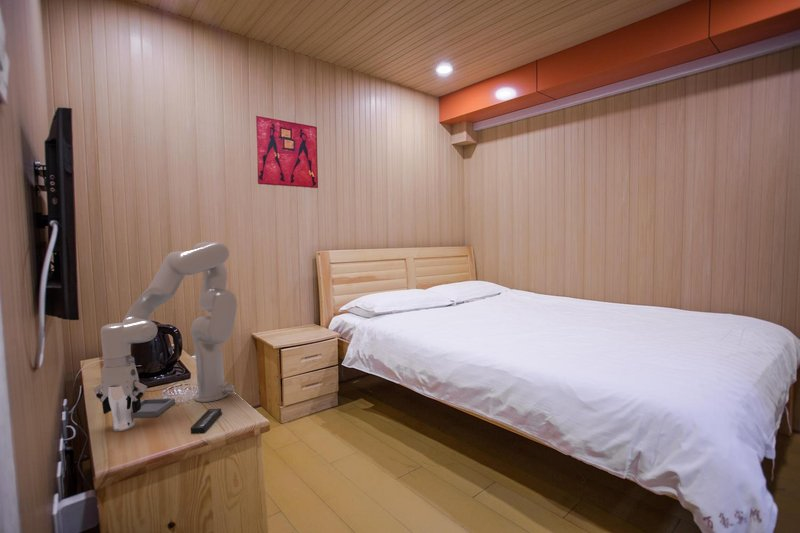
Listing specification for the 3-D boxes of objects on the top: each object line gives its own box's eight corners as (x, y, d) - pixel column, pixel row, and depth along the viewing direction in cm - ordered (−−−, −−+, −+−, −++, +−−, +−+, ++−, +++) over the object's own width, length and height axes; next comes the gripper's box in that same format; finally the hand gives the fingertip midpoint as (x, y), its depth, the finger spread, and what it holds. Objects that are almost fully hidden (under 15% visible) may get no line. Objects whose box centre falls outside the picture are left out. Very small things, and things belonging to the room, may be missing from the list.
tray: (175, 403, 158) (174, 398, 158) (156, 416, 147) (156, 411, 147) (144, 404, 158) (144, 398, 158) (124, 417, 147) (123, 412, 147)
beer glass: (118, 423, 143) (114, 380, 142) (140, 421, 143) (136, 379, 142) (106, 432, 136) (102, 387, 135) (129, 431, 136) (124, 386, 135)
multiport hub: (190, 435, 133) (189, 428, 133) (209, 415, 148) (209, 408, 148) (204, 434, 134) (203, 427, 133) (222, 414, 148) (221, 408, 148)
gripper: (150, 357, 141) (154, 406, 143) (99, 358, 142) (104, 407, 143) (136, 364, 134) (141, 416, 135) (82, 365, 134) (88, 417, 136)
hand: (122, 411), depth 139 cm, fingers open, 9 cm apart
